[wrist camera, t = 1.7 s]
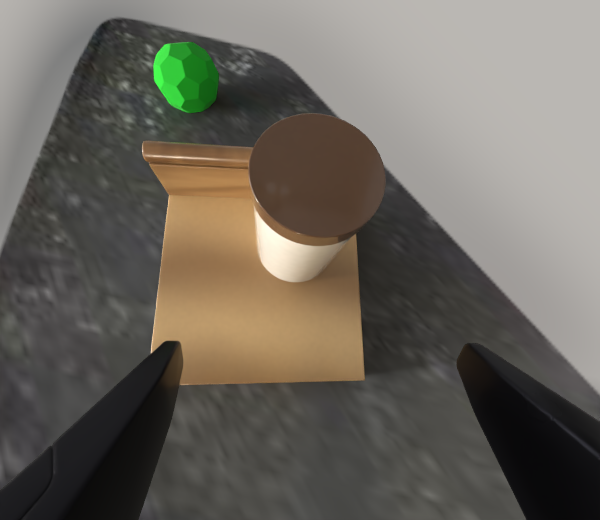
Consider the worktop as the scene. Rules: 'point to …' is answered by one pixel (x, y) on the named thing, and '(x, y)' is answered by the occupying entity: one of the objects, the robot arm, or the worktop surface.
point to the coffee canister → (311, 192)
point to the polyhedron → (186, 76)
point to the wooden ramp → (243, 283)
